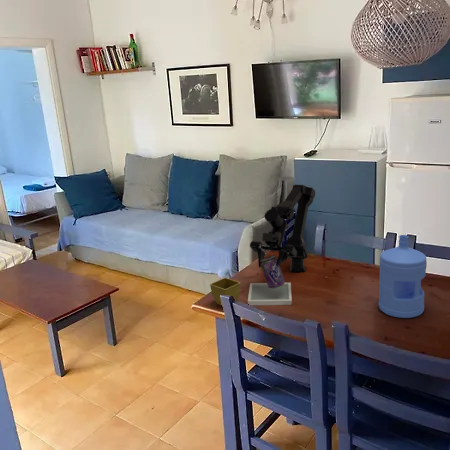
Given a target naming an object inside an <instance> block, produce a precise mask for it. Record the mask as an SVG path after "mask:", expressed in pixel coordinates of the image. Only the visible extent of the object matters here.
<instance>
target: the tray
mask: <svg viewBox="0 0 450 450" xmlns="http://www.w3.org/2000/svg"><path fill="white" fill-rule="evenodd" d="M247 297H248V298H247V305H248V304H249V305H248V306H291V305H293V304H292V303H293V300H292V283H291V282H285V283H284V284H283V285H282V286H280V287H278V288H274V289H272V288H269V287H268V285H267V282H260V283H259V282H255V283H253V282H251V283H250V284H249V291H248V295H247Z"/></svg>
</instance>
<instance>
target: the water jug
mask: <svg viewBox="0 0 450 450" xmlns="http://www.w3.org/2000/svg"><path fill="white" fill-rule="evenodd" d="M398 238H399V239H398V246H397V247H396V246H395V247H393V248H388V249H386V250H384V251H382V252H381V253H380V255H379V279H378V280H379V282H378V286H379V287H378V288H379V289H378V291H379V294H378V297H379V298H378V307H379V309H380V311H381V312H383V313H384V314H385V315H388V316H390V317H394V318H399V319H411V318H416V317H418V316H421V315H422V314H423V312H425V311H424V310H425V291H424V290H423V288H422V286H421V285H422V280H423V279H424V278H425V277H426V275H427V274H426V273H427V266H428V265H427V263H428V262H427V256H426V254H424V253H423V252H421V251H419V250H417V249H414V248H412V247H409V238H410V237H409V235H406V234H401V235H399V236H398Z"/></svg>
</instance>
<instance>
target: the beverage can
mask: <svg viewBox="0 0 450 450" xmlns="http://www.w3.org/2000/svg"><path fill="white" fill-rule="evenodd" d="M277 259H278V257H276V256H275V255H270V256H265V257H264V259H262V260H260V262H261V267H260V268H261V270H262V273H263V276H264V279H265V281H266V282H265V283H267V285H268V287H269V288H272V289H274V288H278V287H280V286H282V285H283V284H284V283H286V279H285V276H284V274H283V271H282V269H281V265H280V266H277Z"/></svg>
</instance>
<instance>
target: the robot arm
mask: <svg viewBox="0 0 450 450" xmlns="http://www.w3.org/2000/svg"><path fill="white" fill-rule="evenodd" d="M291 188H292V189H291V191H290V192H289V193H288V195H287V196H286V197H285V199H284V201H281V202H279V203H278V204H277V205H276V206H271V208H270V209H268V210H266V212H265V213H264V219H265V220H266V222H267V223H268V225H269V226H270V227H271V230H270V231H269V232H263V233H262V238H261V241H262V242H264V243H265V244H263V243H262V242H261V241H258V240H252V241H251V242H250V243H249V247H250V249H251V250H252V251H253V252H255V253H257V260H258V261H257V263H258V267H259V268H261V262H260V260H262V259H264V258H266V253H265V251H271V252H277V253H278V257H277V266H280V267H281V266H282V264H283V263H284V262H285V261H286V260H288V259H290V266H289V267H290V268H289V269H290V273H300V272H301V273H305V272H306V268H305V265H304V264H305V263H304V262H305V261H304V260H305V259H308V256H309V251H308V249H307V247H306V243H305V239H304V233H305V227H306V221H307V217H308V210H309V207H310V206H311V205H312V204H313V203H314V198H315V197H316V190H315V189H314V188H313V187H312V186H307V185H304V184H293V185H292V187H291ZM296 205H297V208H296V214H295V209H294V208H295V207H296ZM294 215H295V218H294V224H293V225H294V226H293V229H292V234H291V236H290V237H288V238H287V239H286V243H285V244H283V242H285V235H286V234H285V233H287V232H286V231H287V229H289V225H288V223H287V221H290V220H292V219H293V217H294ZM286 220H287V221H286ZM282 245H283V246H282Z"/></svg>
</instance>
